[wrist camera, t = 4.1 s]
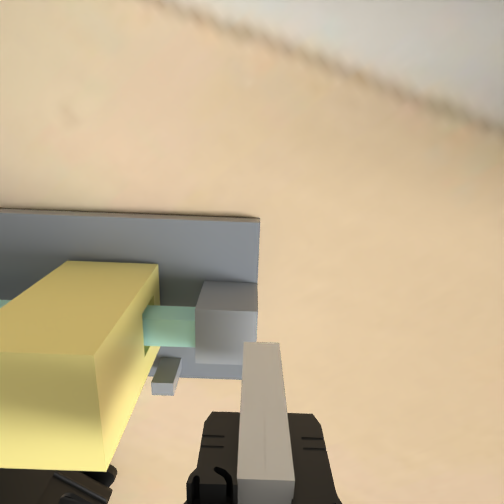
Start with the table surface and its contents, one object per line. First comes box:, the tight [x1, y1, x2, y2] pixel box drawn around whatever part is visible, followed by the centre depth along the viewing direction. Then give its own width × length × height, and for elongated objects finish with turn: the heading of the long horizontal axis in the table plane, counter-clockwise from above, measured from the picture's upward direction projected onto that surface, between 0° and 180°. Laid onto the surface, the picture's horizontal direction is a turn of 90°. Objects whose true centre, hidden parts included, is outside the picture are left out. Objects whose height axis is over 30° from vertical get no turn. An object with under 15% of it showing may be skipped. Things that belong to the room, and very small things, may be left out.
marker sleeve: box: [0, 261, 160, 472], centre depth 17 cm, size 5×5×9 cm
